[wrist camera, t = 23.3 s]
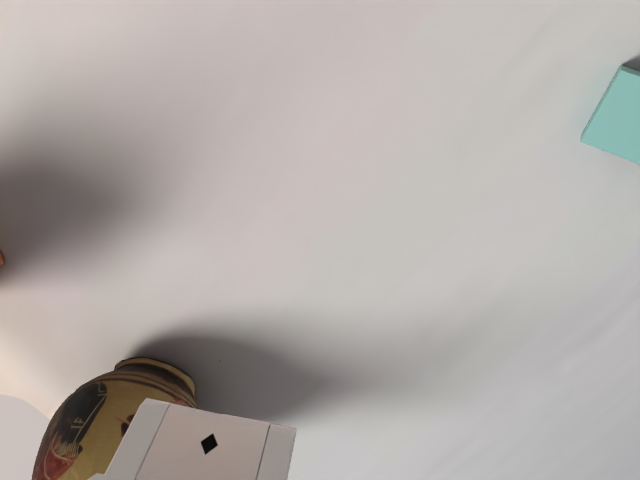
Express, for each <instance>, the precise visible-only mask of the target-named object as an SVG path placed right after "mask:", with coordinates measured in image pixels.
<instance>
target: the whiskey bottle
mask: <svg viewBox="0 0 640 480" xmlns="http://www.w3.org/2000/svg"><path fill="white" fill-rule="evenodd" d="M3 263H4V260H3V258H2V255H1V252H0V266H1V265H2V264H3Z"/></svg>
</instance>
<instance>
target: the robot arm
mask: <svg viewBox="0 0 640 480" xmlns="http://www.w3.org/2000/svg"><path fill="white" fill-rule="evenodd" d="M295 436H296V428H292V427H287V426H281V425H276V424H271V423H270V422H265V421H259V420H254V419H249V418H243V417H238V416H232V415H227V414H222V413H221V414H218V413H213V412H209V411H204V410H200V409H195V408H190V407H186V406H181V405H177V404H173V403H169V402H164V401H159V400H154V399H149V398H146V399H145V400H144V401H143V403H142V404H141V405H140V406H139V408H138V410H137V412H136V414H135V416H134V418H133V420H132V422H131V424H130V426H129V428H128V430H127V432H126V433H125V435H124V437H123V439H122V441H121V443H120V445H119V447H118V449H117V451H116V453H115V455H114V457H113V459H112V461H111V463H110V464H109V466H108V468H107V470H106V472H105V474H99V473H96V474H95V475H93V476H92V477H90V478H89V479H88V480H287V478H288V473H289V468H290V462H291V457H292V452H293V446H294V441H295Z"/></svg>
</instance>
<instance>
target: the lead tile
mask: <svg viewBox="0 0 640 480" xmlns="http://www.w3.org/2000/svg"><path fill="white" fill-rule="evenodd" d="M580 141H581V142H583V143H586V144H588V145H591V146H593V147H596V148H598V149H601V150H604V151H606V152H609V153H611V154H614V155H616V156H619V157H622V158H624V159H627V160H629V161H632V162H634V163H637V164H640V72H639V71H636V70H634V69H631V68H628V67H625V66H622V65H620V67H619V69H618V71H617V73H616V74H615V76H614V78H613V80H612V81H611V83H610V85H609V87H608V89H607V90H606V92H605V94H604V96H603V97H602V99H601V101H600V103H599V104H598V106H597V108H596V110H595V112H594V113H593V115H592V117H591V119H590V120H589V122H588V124H587V126H586V128H585V129H584V131H583V133H582V135H581V140H580Z"/></svg>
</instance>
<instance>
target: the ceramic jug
mask: <svg viewBox="0 0 640 480" xmlns="http://www.w3.org/2000/svg"><path fill="white" fill-rule="evenodd" d="M219 362H220V361H219ZM194 395H195V386H194V381H193V380H192V379H191V378H190V377H189V376H187V375H185V374H184V373H182V372H181V371H179V370H178V369H176V368H175V367H173V366H171V365H169V364H165V363H162V362H159V361H155V360H152V359H149V358H136V359H129V360H125V361H122V362H119V363H117V364H116V365H115V369H114V371H112V372H109V373H106V374H103V375H101V376H98V377H96V378H94V379H92V380H91V381H89V382H87V383H85V384H83V385H81V386H80V387H79V388H78V389H77V390H76V391H75V392H74V393H73V394H71V395H70V396H69V397H68V398H67V399H66V400H65V401H64V402H63V403H62V405H61V406H60V407H59V408H58V410H57V411H56V412H55V414H54V416H53V417H52V419H51V421H50V423H49V425H48V427H47V430H46V432H45V434H44V436H43V439H42V442H41V445H40V448H39V451H38V454H37V457H36V461H35V465H34V469H33V475H32V480H88V479H89V478H90V477H92V476H93V475H95V474H96V473H99V474H105V472H106V470H107V468H108V466H109V464H110V463H111V461H112V459H113V457H114V455H115V453H116V451H117V449H118V447H119V445H120V443H121V441H122V439H123V437H124V435H125V433H126V432H127V430H128V428H129V426H130V424H131V422H132V420H133V418H134V416H135V414H136V412H137V410H138V408H139V406H140V405H141V404H142V403H143V401H144V400H145V399H146V398H149V399H154V400H159V401H164V402H169V403H173V404H177V405H181V406H186V407H190V408H195V409H198V407H197V404H196V402H195V400H194Z"/></svg>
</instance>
